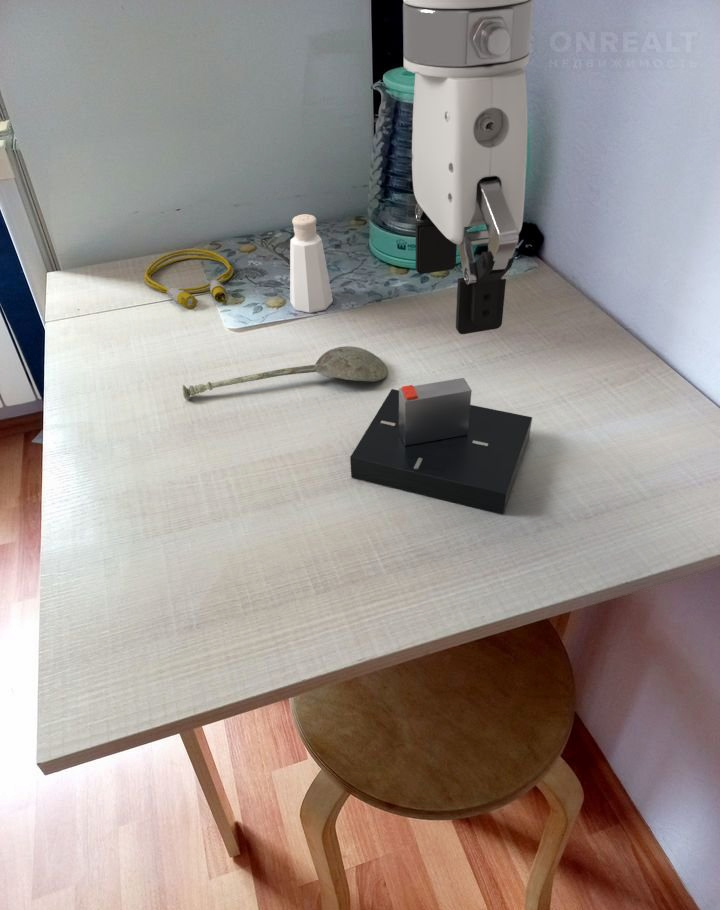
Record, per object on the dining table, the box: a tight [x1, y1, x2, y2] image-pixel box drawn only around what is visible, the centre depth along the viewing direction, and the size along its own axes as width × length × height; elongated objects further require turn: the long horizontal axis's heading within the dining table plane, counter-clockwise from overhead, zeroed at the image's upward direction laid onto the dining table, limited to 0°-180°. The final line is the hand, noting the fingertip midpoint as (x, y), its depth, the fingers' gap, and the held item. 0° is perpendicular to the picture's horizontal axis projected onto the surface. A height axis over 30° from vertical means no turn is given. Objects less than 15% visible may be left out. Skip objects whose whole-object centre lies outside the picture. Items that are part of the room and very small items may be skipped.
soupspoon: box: [181, 346, 389, 402], centre depth 75 cm, size 22×3×7 cm
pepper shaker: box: [289, 213, 334, 314], centre depth 86 cm, size 5×5×11 cm
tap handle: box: [398, 377, 472, 446], centre depth 63 cm, size 6×2×5 cm, turn 103°
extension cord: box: [144, 248, 235, 310], centre depth 94 cm, size 12×16×2 cm
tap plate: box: [349, 388, 533, 515], centre depth 65 cm, size 14×11×3 cm
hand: (455, 297), depth 53 cm, fingers open, 9 cm apart
